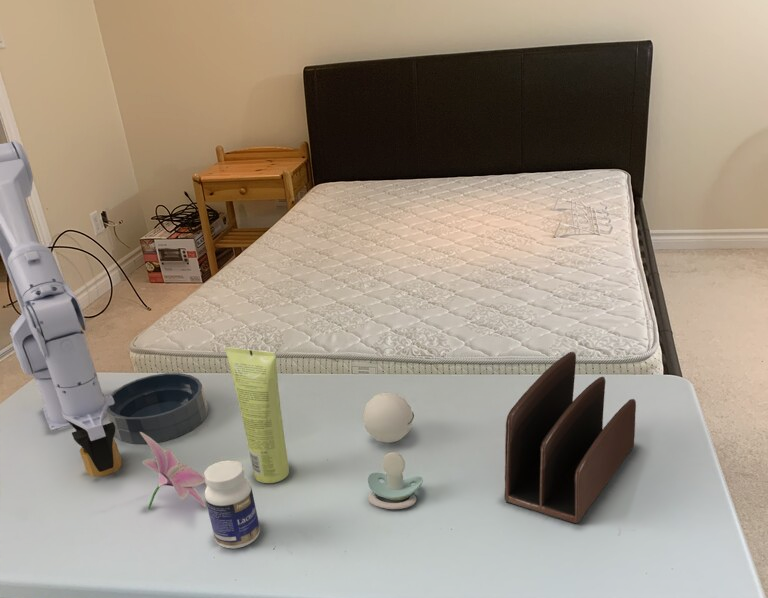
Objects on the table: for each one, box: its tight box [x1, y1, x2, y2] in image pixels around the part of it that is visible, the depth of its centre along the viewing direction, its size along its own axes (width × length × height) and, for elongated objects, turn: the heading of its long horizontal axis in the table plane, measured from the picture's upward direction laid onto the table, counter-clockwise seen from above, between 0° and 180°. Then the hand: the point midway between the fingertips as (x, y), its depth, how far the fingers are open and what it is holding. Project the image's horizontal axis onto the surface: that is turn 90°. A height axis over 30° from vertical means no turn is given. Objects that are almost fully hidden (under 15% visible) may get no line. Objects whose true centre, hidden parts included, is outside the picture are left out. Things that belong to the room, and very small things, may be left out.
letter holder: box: [504, 351, 637, 525], centre depth 98 cm, size 10×20×14 cm, turn 145°
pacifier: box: [367, 451, 424, 510], centre depth 98 cm, size 7×6×6 cm
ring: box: [79, 438, 123, 478], centre depth 111 cm, size 5×5×4 cm
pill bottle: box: [203, 460, 261, 549], centre depth 94 cm, size 6×6×10 cm
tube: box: [224, 346, 290, 484], centre depth 103 cm, size 6×5×20 cm
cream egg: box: [362, 392, 415, 444], centre depth 112 cm, size 10×7×7 cm
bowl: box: [106, 372, 209, 445], centre depth 123 cm, size 15×15×5 cm
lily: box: [140, 432, 207, 510], centre depth 102 cm, size 12×12×10 cm
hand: (102, 460), depth 112 cm, fingers closed on ring, 5 cm apart
